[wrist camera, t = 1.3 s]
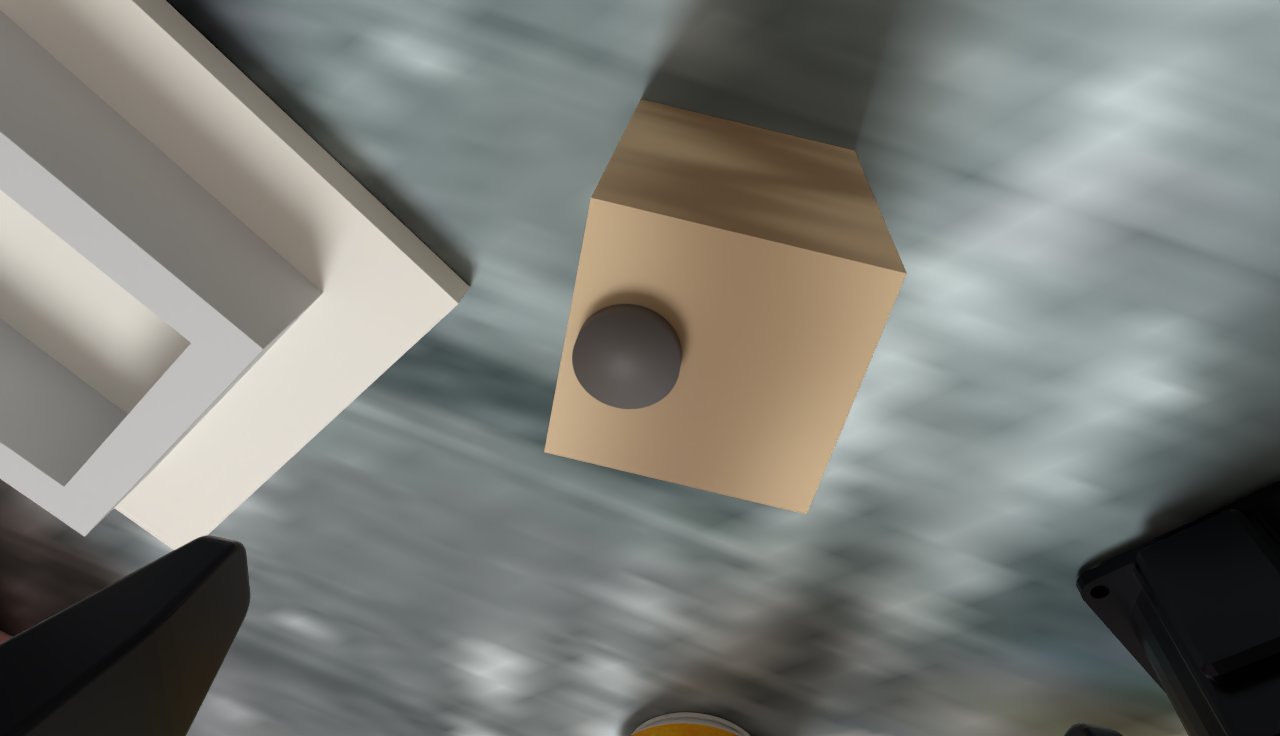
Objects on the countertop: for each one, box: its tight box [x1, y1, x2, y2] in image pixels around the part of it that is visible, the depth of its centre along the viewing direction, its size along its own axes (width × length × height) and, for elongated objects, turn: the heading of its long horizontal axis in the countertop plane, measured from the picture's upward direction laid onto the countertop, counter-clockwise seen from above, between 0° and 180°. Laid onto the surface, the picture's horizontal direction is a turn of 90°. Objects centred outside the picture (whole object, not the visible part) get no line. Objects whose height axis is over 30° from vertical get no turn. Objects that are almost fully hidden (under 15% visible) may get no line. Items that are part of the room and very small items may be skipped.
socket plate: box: [0, 0, 470, 550], centre depth 20 cm, size 14×14×4 cm
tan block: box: [544, 99, 907, 514], centre depth 17 cm, size 5×5×7 cm
